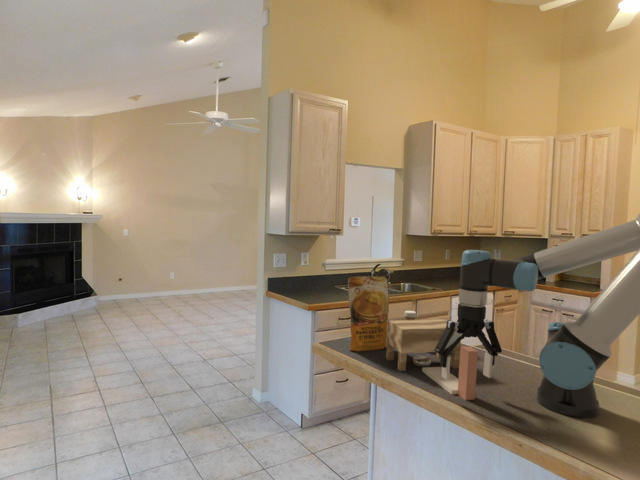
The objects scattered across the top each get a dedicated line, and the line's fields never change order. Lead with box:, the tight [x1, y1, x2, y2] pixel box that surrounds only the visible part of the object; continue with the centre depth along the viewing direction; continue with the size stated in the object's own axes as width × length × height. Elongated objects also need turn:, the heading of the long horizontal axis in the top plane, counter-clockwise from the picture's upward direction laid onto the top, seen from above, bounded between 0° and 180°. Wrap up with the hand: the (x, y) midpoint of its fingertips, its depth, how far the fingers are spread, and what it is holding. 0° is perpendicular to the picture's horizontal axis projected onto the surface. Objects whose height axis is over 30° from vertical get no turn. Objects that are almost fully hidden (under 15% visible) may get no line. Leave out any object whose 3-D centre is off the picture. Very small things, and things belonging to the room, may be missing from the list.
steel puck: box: [412, 355, 432, 368], centre depth 144 cm, size 6×6×2 cm
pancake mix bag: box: [347, 275, 390, 352], centre depth 158 cm, size 7×19×28 cm, turn 112°
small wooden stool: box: [385, 318, 462, 372], centre depth 144 cm, size 12×22×14 cm, turn 103°
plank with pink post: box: [421, 346, 479, 401], centre depth 126 cm, size 22×7×14 cm, turn 13°
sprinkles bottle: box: [404, 310, 417, 320], centre depth 165 cm, size 5×5×14 cm
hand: (466, 377), depth 118 cm, fingers open, 13 cm apart
